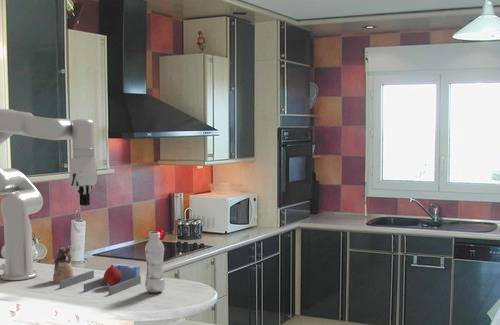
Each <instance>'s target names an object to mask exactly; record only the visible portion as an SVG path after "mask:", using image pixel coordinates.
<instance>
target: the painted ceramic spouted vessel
mask: <svg viewBox="0 0 500 325" xmlns="http://www.w3.org/2000/svg"><path fill="white" fill-rule="evenodd" d="M70 250H71V248H70V247H67V248H65V247H59V249H58V250H57V251H56V252H55V253H56V254H55V255H54V257H53V258H54V261H53V264H54V268H53V269H54V270H53V275H52V277H53V278H52V279H53V283H54V282H55V284H60V281H61V280H65V279H68V278H71V277H74V276H75V274H74V269H73V265H72V262H71V260H72V255H71V254H70Z"/></svg>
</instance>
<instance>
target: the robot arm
mask: <svg viewBox="0 0 500 325" xmlns="http://www.w3.org/2000/svg"><path fill="white" fill-rule="evenodd" d="M13 135H19V136H25V137H30V138H35V139H42V140H48V141H49V140H50V141H65V140H67V141H68V140H72V141H71V142H72V158H71V159H70V165H69V185H70V186H72V190H74V191H77V193H78V195H79V206H90V204H91V202H90V201H91V200H90V199H91V198H90V197H91V196H90V194H91V193H92V189H94V188H96V184H97V182H98V170H97V162H96V157H95V124H94V121H93V120H92V119H87V118H80V119H70V118H53V117H44V116H43V117H42V116H37V115H34V114H33V113H31V112H27V111H19V110H15V109H11V108H9V109H8V108H0V145H2V144H3V143H4V142H6V141H7V140H8V139H9V138H10V137H12V136H13ZM0 196H3V198H2V199H1V202H0V211H1V217H2V221H3V234H4V237H3V238H4V261H5V262H3V263H2V264H1V265H0V270H3V273H2V274H0V279H2V280H4V281H23V280H28V279H33V278H35V277H37V276H38V271H37V270H35V269H34V264H33V263H34V261H33V259H34V258H33V257H34V256H33V231H32V230H33V227H32V224H31V220H30V217H29V215H32V214H36V213H38V212H39V211H41V209H42V208H43V205H44V198H43V195H42V194H41V192H40V191H39V190H38V189H37V187H36V186H35V185H34V184H33V183H32V181H30V180H29V178H28V177H27V176H26V175H25V174H24V173H23V172H21V171H20V170H19V169H16V168H3V167H2V166H0Z"/></svg>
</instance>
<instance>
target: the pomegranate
mask: <svg viewBox="0 0 500 325" xmlns="http://www.w3.org/2000/svg"><path fill="white" fill-rule="evenodd" d="M114 264H115V263H112V264H111V265H110V266H109V267H108V268H107V269H106V270H105V272H104V274H103V277H104V280H105V282H106V283H107V284H106V285H108V286H109V287H111V286H113V285H116V284H119V283H120V282H119V281H120V280H121V273H120V271H119V270H118V269H117V268H116V267H115V266H114Z"/></svg>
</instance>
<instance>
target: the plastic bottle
mask: <svg viewBox="0 0 500 325" xmlns="http://www.w3.org/2000/svg"><path fill="white" fill-rule="evenodd" d="M160 238H161V232H160V231H149V232H148V241H147V243H146V244H145V247H144V252H145V260H146V276H145V277H146V279H145V283H144V286H145V290H146V292H147V293H153V294H155V293H160V292H162V291H163V292H164V290H165V287H166V286H165V285H166V281H165V280H166V279H165V277H164V255H165V245H164V243H163V242H162V240H161V239H160Z"/></svg>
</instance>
